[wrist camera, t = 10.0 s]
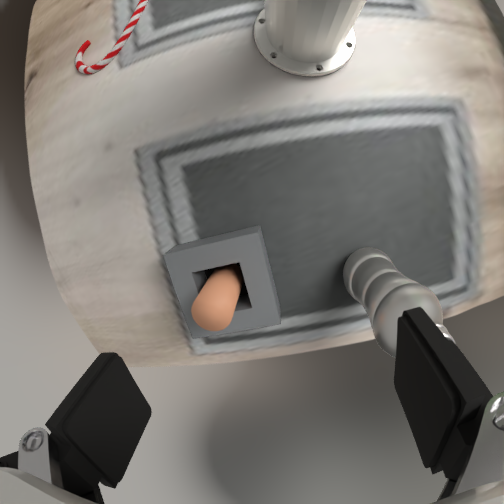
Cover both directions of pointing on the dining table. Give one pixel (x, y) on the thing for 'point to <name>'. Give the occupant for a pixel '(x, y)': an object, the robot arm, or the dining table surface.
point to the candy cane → (115, 49)
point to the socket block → (219, 254)
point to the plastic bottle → (387, 295)
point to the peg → (218, 298)
